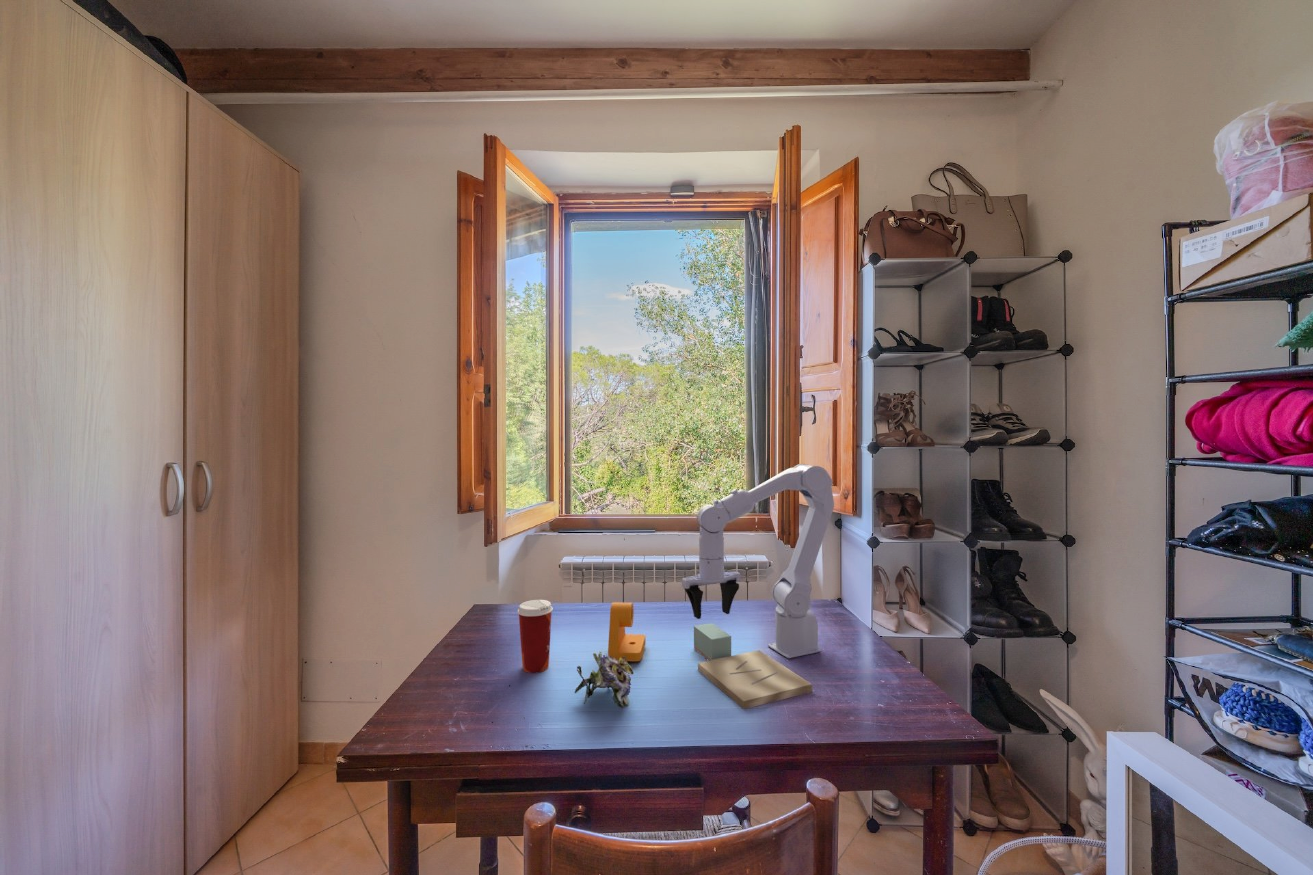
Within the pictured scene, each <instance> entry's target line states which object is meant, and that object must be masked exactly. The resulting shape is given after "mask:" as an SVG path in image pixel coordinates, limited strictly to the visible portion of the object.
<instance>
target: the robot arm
mask: <svg viewBox="0 0 1313 875" xmlns="http://www.w3.org/2000/svg"><path fill="white" fill-rule="evenodd" d="M833 482H834V481H833V479H832V477H831V475H830V473H828V471H827V470H826V469H825V468H824V467H822V466H820V465H809V464H805V463H799V464H797V465H794V466H793V467H789V468H787V469H785V470H783V471H781V472H780V473H778V474H776V475H775V476H772V477H771V478H769V479H768V480H766V481H764V482H761V484H758V485H756V486H755V487H753V488H752V489H749V490H745V489H743V488H740V489H736V488H734V489H732V490H730V493H731V494H729V495H727V496H724V497H723V498H720V499H719V500H718V499H714V500H713V501H712V502H713V504H705V505H703V506H702V507H700V509H699V510H698V512H697V515H696V521H697V523H698V525H699V538H698V546H699V549H698V550H699V551H698V552H699V553H698V556H699V557H698V559H699V561H698V562H699V570H698V572H699V573H698V574H696V575H692V576H688V577H683V578H681V588H684V591H685V592H686V595H687V596H688V597H687V598H688V599H689V602H690V604H691V608H692V613H693V617H694V618H695V619H696V620H700V619H701V618H702V600H703V595H704V590H701V588H700V587H702V586H709V585H717V584H718V585H720V591H721V610H722V612H723V613H724V614H726V615H730V614H731V607H732V604H733V602H734V599H735V596H736V594H737V592H738V591H739V589H740V584H739V583H738V582H741V573H740V572H738V571H725V560H724V559H725V552H724V548H725V547H724V546H725V542H724V541H725V540H724V539H725V538H724V529H725V528H726V527H727V524H729V523H732V522H733V521H735V520H738V519H739V518H741V517H744V516H745V515H747V514H749V513H752V512H753V511H754V509H755V508H754V507H755V506H756V505H755V504H757V503H759V502H762V501H764V500H765V499H768V498H770V497H772V496H775V495H776V494H779V493H781V492H784V491H786V490H787V491H788V490H792V491H798V492H799V493H801V495H802V496H803V498H804V500H805V501H806V502H807V504H808V509H807V513H806V515H805V517H804V518H805V519H804V521H803V523H802V527H801V530H800V533H799V536H798V538H797V541H796V545H795V546H794V551H793V553H792V556H791V559H790V561H789V565H788V567H787V569H785V570H784V571H783V572H782V573H781V575H780V577H779V579H778V580H777V581H776V583H775V584H773V586H772V589H771V590H772V593H771V594H772V598H773V600H774V601H775V602H776V606H775V617H774V618H775V620H774V621H775V622H774V623H775V642H772V643H768V644H767V646H768V647H769V648H770V649H772V650H773V651H774V652H777V653H778V654H780V655H782V656H783V657H785V658H787V659H793V658H796V657H801V656H805V655H806V656H807V655H811V654H815V653H819V652H821V649H820V648H819V644H818V641H819V640H818V639H819V635H818V633H819V631H818V630H819V628H818V627H819V624H818V620H817V617H816V615H815V614H814V612H813V611H812V610H810V607H811V605H812V604H811V602H812V601H811V594H812V591H813V590H812V589H813V587H812V582H811V576H812V572H813V570H814V567H815V564H816V561H817V557H818V555H819V552H820V549H821V547H822V543H823V540H824V538H825V534H826V532H827V530H828V526H829V523H830V521H831V517H832V514H833V512H834V508H835V501H834V500H835V499H834V496H833V494H834V493H833V488H832V487H833V486H832V485H833Z"/></svg>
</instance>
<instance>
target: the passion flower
mask: <svg viewBox="0 0 1313 875" xmlns="http://www.w3.org/2000/svg"><path fill="white" fill-rule="evenodd" d="M602 652H603V651H599V652H598V654H597V653H595V652H593V654H592V655H593V659H594V661H595V662H596V665H597V666H598V670H597V672H595V671H596V670H592V671H590V675H589V677H588V678H584V677H583V675H582V666H581V665H578V666H576V671H577V673H578V674H579V676H580V678H582V681H581V682H580V683H579V684H578V686H577V687H576V688H575V690H574V694H577V693H578V692H579V691H580V690H581V689H582V688H584V687H585V686H586V687H585V688H586V690H585V696H584V701H583V705H585V704H586V702H587V700H588V699H589V698H590V697H591V696H593V694H594V692H595V690H597V689H598V688H599V689H608V690H609V688H611V690H612V693H613V694H612V701H613V703H614V704H615V705H617V707H620V708H621V709H623V708H624V706H626V707H628V706H629V704H630V701H629V698H628V696H629V695H630V693H631V685H632V683H631V681H632V678H631V675H634V671H633V667H632V666H631V665H630V664H629V663H628V661H626V658H625V656H623V659H622V658H620V659H619V661H617V660H616V659H615V658H611V655H610V656H608V655H605V654H602ZM608 657H609V658H608ZM630 674H631V675H630Z"/></svg>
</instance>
